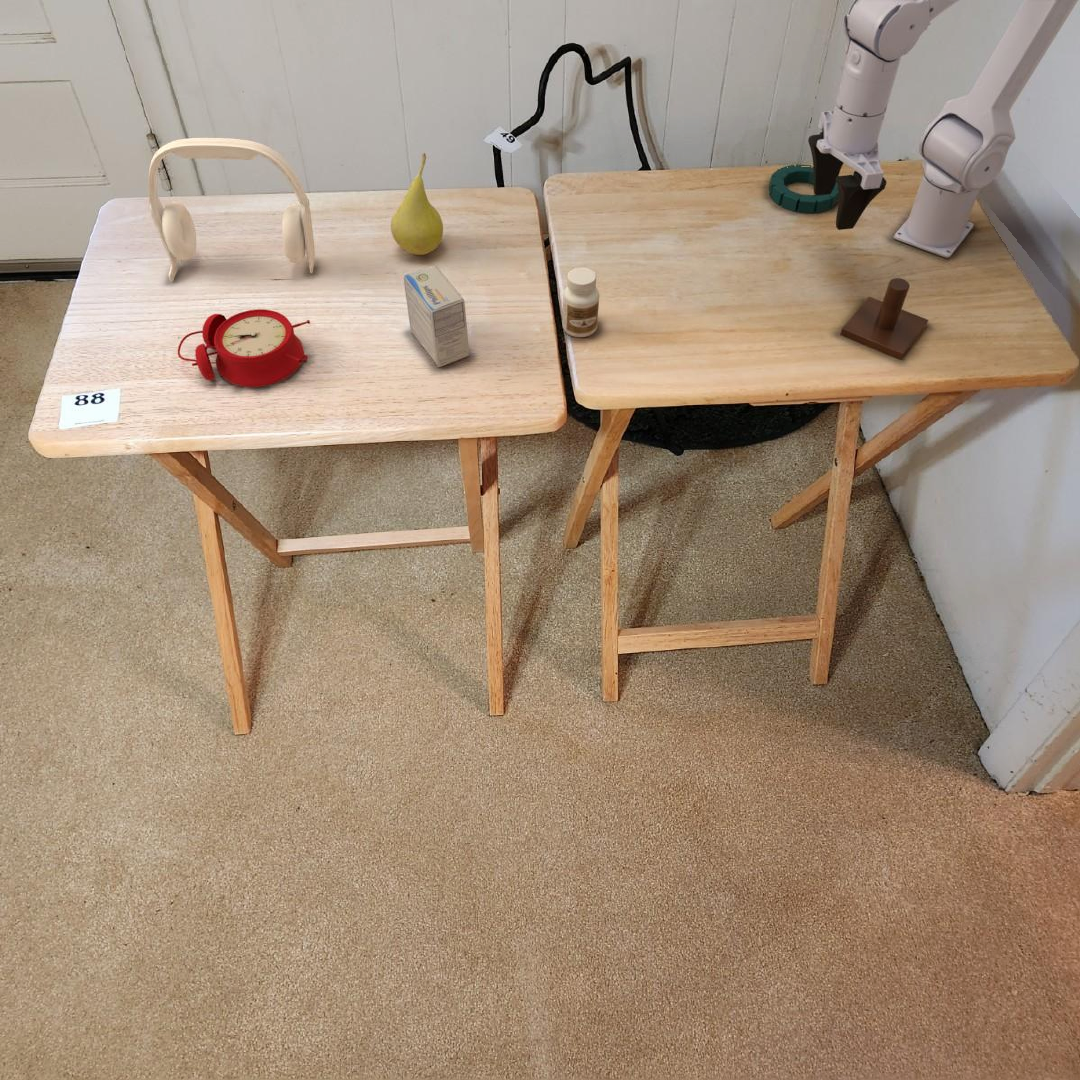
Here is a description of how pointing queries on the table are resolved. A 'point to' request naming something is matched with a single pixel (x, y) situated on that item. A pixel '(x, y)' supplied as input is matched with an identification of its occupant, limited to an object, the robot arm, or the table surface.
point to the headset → (178, 221)
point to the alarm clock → (249, 348)
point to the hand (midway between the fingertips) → (833, 210)
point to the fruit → (417, 220)
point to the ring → (797, 200)
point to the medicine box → (437, 315)
